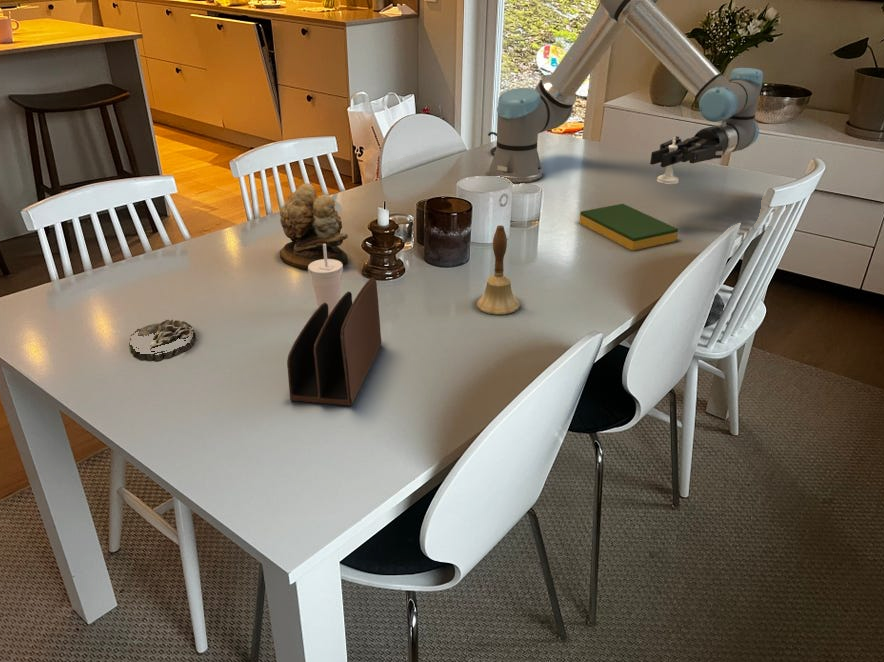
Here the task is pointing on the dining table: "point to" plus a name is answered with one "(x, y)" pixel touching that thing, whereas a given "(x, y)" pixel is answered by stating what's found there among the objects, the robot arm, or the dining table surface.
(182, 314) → the dining table surface
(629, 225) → the sponge pad
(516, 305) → the hand bell
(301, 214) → the owl figurine
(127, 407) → the dining table surface
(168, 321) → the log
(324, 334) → the letter holder
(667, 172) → the chess piece
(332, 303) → the smoothie
